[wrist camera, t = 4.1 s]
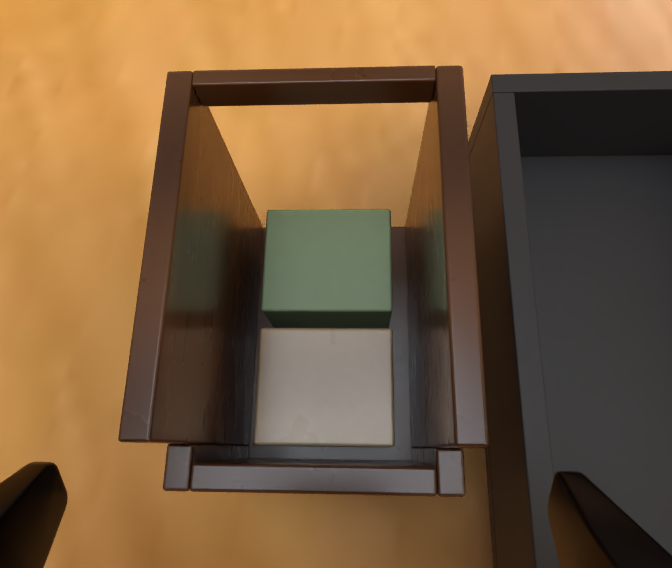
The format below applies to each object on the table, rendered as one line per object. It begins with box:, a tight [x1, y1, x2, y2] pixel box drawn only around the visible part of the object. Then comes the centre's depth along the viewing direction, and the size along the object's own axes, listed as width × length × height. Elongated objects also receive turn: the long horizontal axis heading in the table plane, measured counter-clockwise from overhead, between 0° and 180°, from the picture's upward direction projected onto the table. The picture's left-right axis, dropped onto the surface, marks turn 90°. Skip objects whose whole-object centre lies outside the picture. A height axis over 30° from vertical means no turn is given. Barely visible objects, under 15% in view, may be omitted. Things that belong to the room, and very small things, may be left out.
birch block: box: [253, 328, 395, 448], centre depth 17 cm, size 3×4×3 cm
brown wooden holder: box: [118, 66, 489, 497], centre depth 15 cm, size 9×7×10 cm
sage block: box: [261, 209, 392, 328], centre depth 18 cm, size 3×4×3 cm
